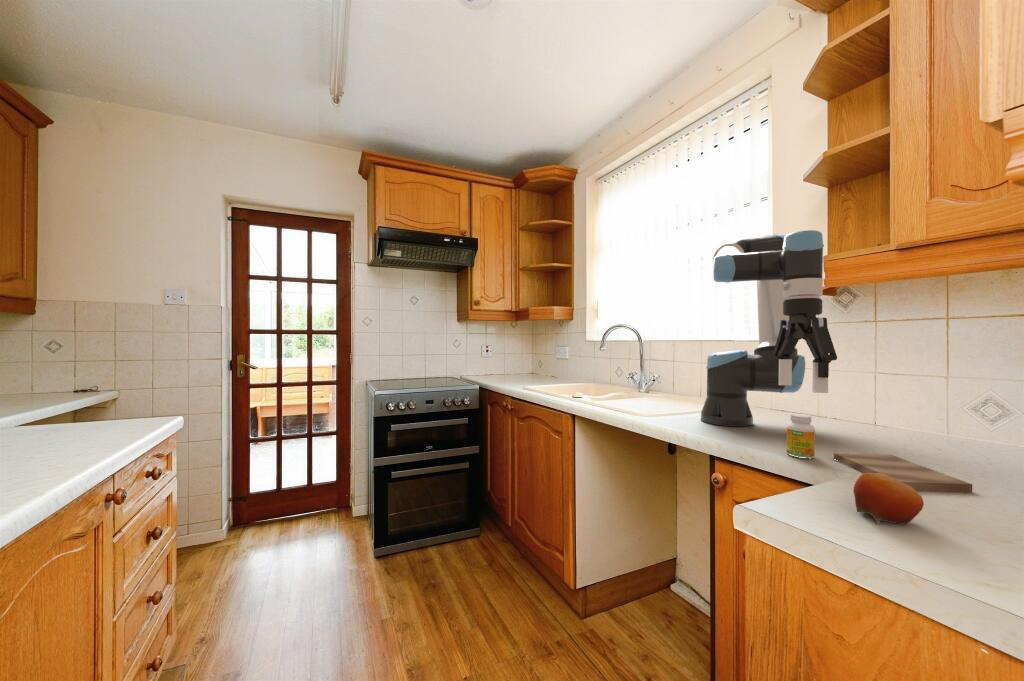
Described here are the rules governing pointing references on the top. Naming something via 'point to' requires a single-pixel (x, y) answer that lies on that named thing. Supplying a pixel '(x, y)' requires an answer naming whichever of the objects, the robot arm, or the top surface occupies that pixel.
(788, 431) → the supplement bottle
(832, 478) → the top surface
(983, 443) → the top surface
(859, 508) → the fruit
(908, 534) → the top surface
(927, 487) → the walnut board
